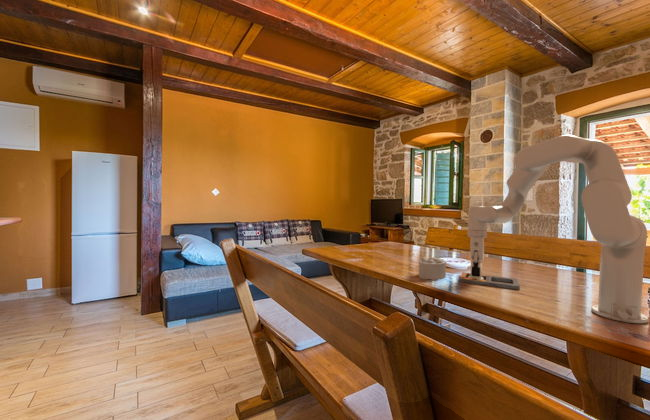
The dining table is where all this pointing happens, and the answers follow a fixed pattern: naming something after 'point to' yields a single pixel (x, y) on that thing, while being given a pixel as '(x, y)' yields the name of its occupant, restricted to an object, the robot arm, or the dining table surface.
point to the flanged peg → (480, 272)
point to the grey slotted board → (490, 283)
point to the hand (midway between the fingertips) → (476, 274)
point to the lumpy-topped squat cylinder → (432, 268)
